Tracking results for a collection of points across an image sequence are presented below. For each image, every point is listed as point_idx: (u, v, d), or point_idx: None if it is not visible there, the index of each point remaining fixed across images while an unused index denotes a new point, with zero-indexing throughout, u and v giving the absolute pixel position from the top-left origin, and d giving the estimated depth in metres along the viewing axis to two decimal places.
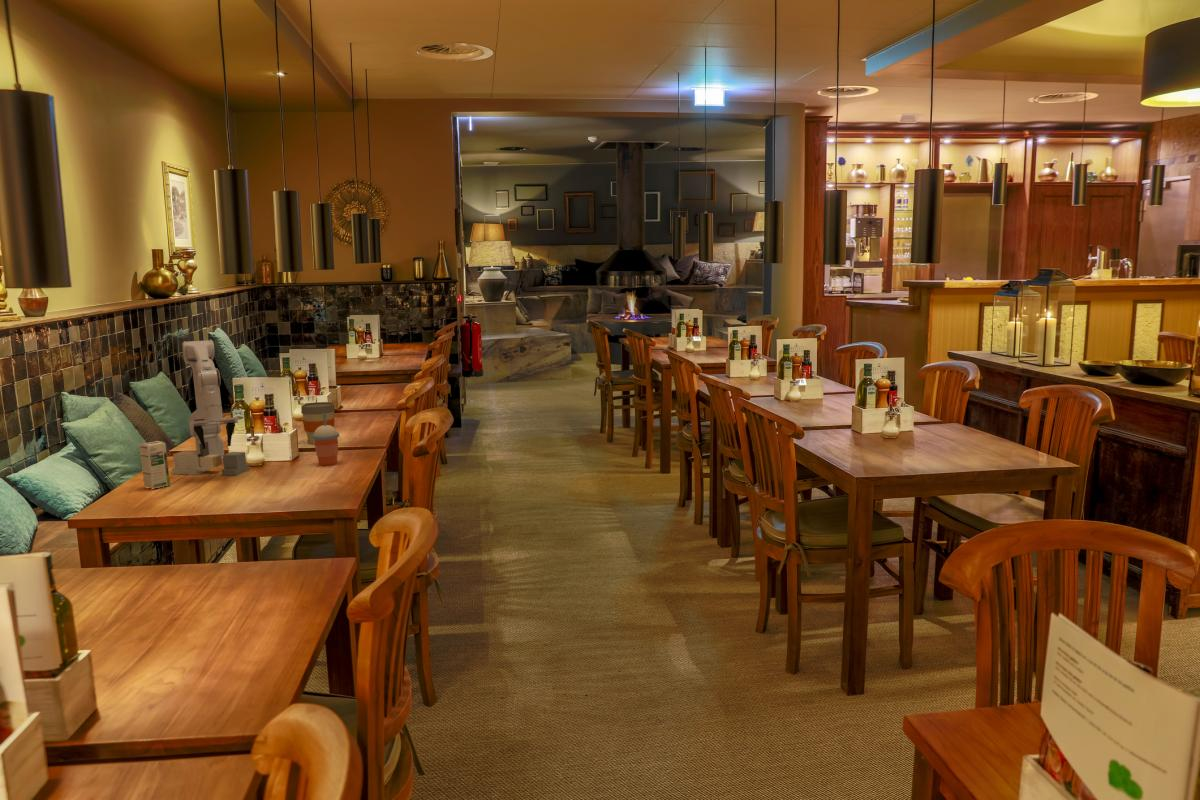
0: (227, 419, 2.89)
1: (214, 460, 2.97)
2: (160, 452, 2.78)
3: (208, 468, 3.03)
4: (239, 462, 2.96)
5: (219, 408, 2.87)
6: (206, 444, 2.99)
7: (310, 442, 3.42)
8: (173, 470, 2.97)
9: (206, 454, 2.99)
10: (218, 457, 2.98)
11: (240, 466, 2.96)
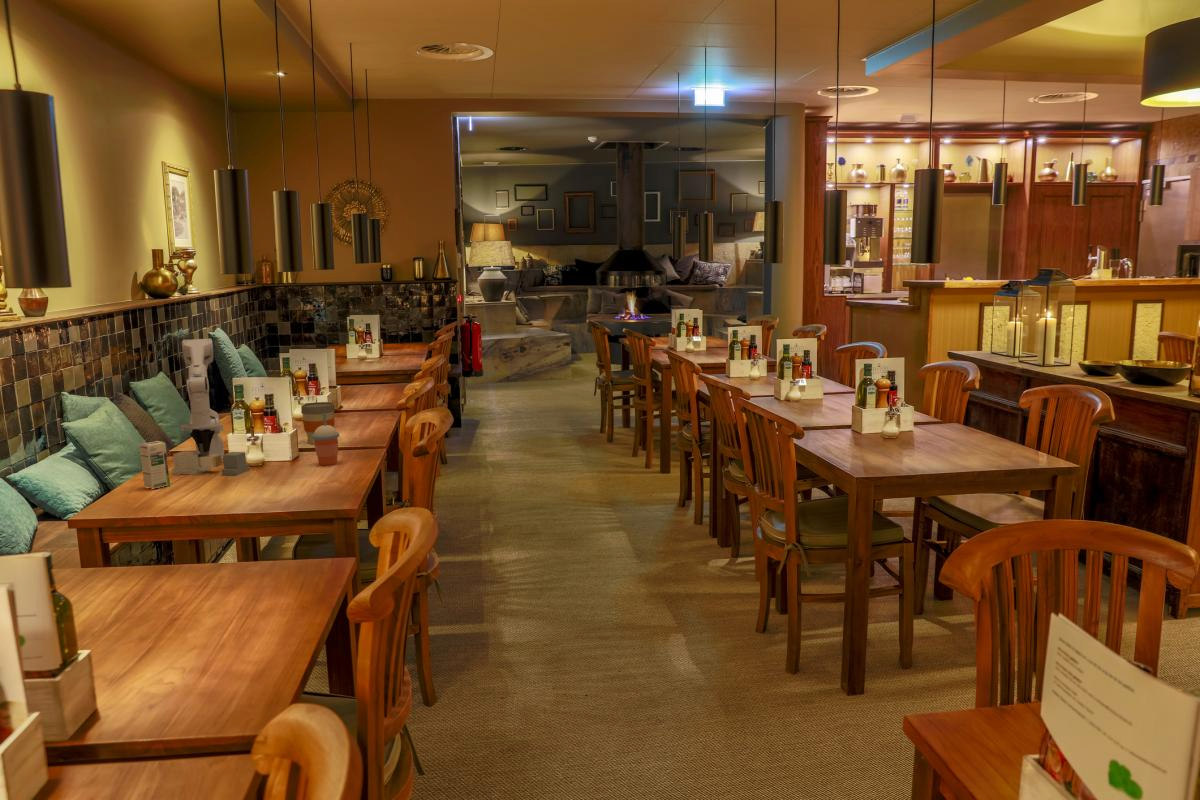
0: (209, 427, 2.95)
1: (214, 460, 2.97)
2: (160, 452, 2.78)
3: (208, 468, 3.03)
4: (239, 462, 2.96)
5: (202, 416, 2.94)
6: None
7: (310, 442, 3.42)
8: (173, 470, 2.97)
9: (206, 454, 2.99)
10: (218, 457, 2.98)
11: (240, 466, 2.96)
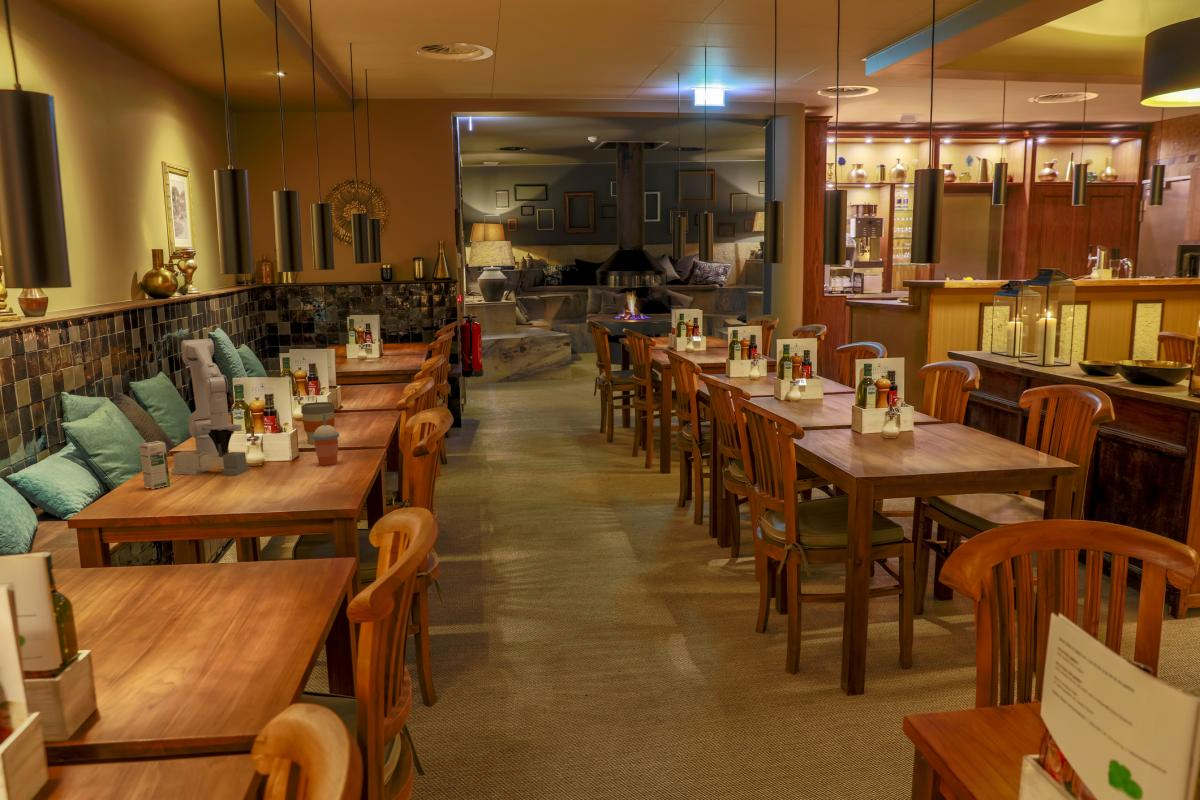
0: (227, 427, 2.94)
1: None
2: (160, 452, 2.78)
3: (208, 468, 3.03)
4: (239, 462, 2.96)
5: (220, 416, 2.93)
6: None
7: (310, 442, 3.42)
8: (173, 470, 2.97)
9: (224, 454, 2.98)
10: None
11: (240, 466, 2.96)
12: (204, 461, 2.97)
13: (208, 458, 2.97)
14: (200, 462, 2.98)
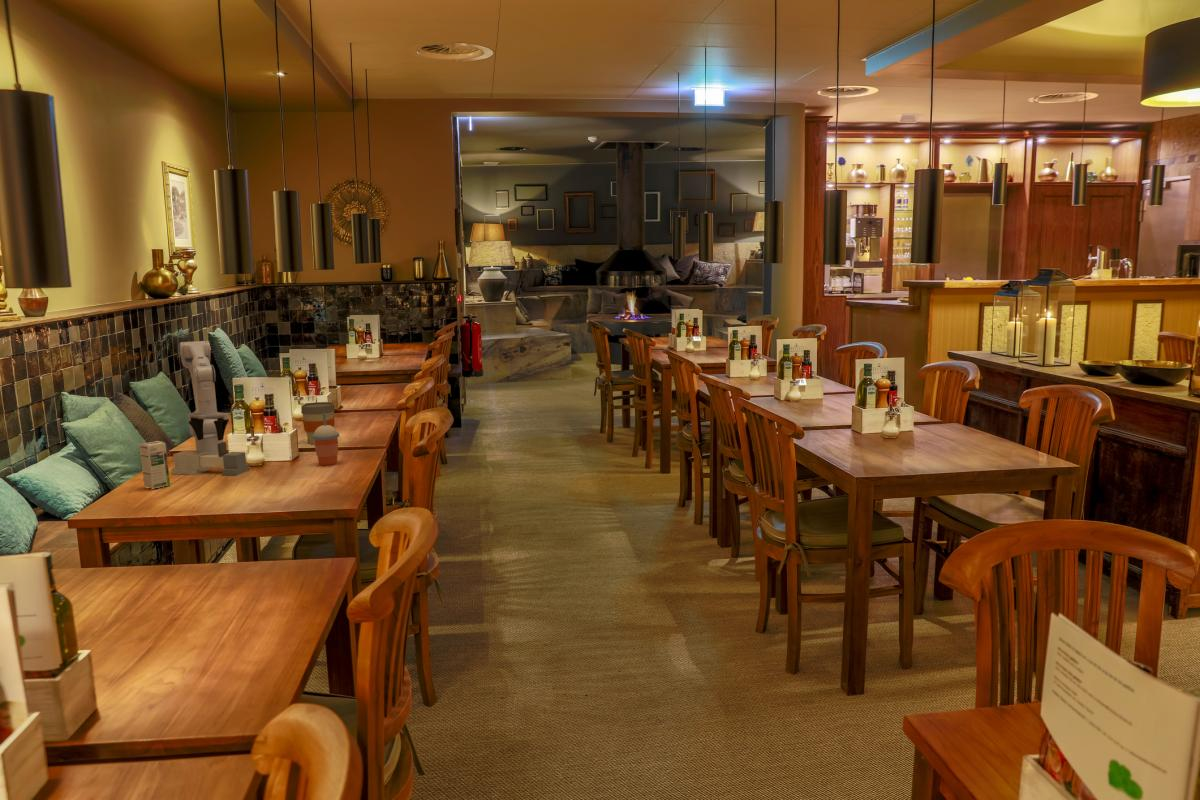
0: (215, 415, 2.98)
1: None
2: (160, 452, 2.78)
3: (208, 468, 3.03)
4: (239, 462, 2.96)
5: (208, 404, 2.98)
6: (224, 444, 2.98)
7: (310, 442, 3.42)
8: (173, 470, 2.97)
9: (224, 454, 2.98)
10: None
11: (240, 466, 2.96)
12: (204, 461, 2.97)
13: (208, 458, 2.97)
14: (200, 462, 2.98)
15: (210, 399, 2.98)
